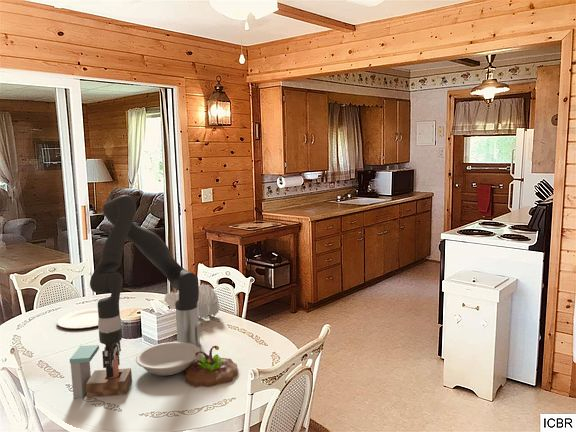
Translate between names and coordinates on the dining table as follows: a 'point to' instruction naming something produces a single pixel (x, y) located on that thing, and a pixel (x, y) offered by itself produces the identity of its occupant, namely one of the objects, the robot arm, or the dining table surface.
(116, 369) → the peg
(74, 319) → the plate
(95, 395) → the socket
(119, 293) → the robot arm
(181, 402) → the dining table surface
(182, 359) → the soup bowl
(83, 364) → the teal-topped grey pillar
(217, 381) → the plant
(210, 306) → the grey rounded lump
